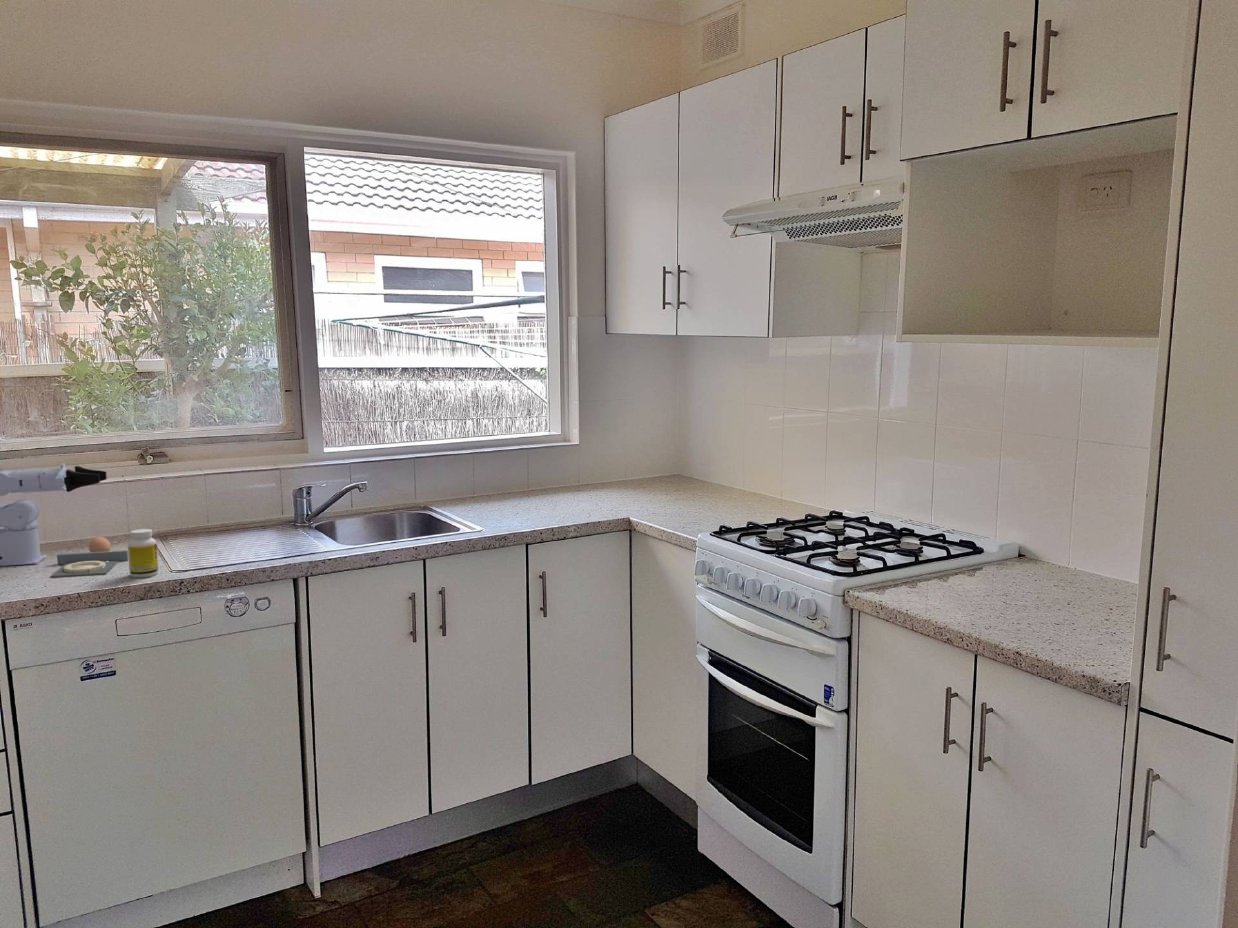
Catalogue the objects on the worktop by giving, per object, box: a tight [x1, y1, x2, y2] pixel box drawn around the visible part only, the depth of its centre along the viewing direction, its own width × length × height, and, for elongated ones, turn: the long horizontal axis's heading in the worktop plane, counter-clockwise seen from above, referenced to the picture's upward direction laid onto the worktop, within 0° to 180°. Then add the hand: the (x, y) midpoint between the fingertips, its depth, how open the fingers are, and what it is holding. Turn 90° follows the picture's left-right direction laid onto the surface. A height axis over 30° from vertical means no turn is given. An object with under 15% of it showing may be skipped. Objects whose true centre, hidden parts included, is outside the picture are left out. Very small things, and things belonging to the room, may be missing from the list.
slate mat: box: [50, 561, 119, 579], centre depth 228 cm, size 12×12×1 cm
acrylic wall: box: [56, 549, 129, 566], centre depth 235 cm, size 16×1×2 cm, turn 107°
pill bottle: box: [127, 528, 159, 579], centre depth 223 cm, size 6×6×11 cm
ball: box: [88, 536, 111, 552], centre depth 242 cm, size 5×5×5 cm
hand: (102, 477), depth 238 cm, fingers open, 7 cm apart
